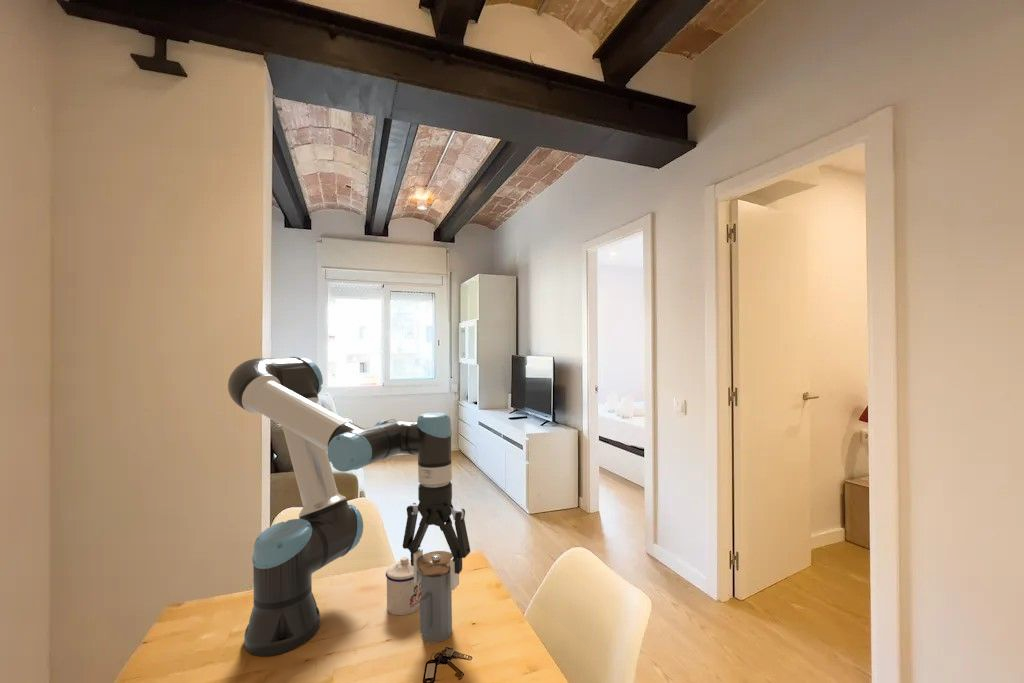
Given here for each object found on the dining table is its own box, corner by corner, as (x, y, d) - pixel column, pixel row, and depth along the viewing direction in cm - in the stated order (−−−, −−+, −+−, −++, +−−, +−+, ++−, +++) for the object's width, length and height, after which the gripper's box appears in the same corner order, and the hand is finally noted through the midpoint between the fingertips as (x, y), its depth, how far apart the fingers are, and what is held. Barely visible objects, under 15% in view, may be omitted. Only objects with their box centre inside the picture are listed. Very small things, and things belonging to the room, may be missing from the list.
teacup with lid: (416, 617, 102) (416, 568, 103) (379, 615, 103) (379, 566, 104) (431, 589, 114) (431, 545, 115) (398, 588, 115) (397, 544, 116)
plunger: (409, 628, 94) (409, 562, 95) (429, 606, 103) (429, 545, 103) (444, 636, 92) (443, 568, 92) (462, 613, 100) (461, 550, 100)
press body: (409, 646, 92) (408, 580, 93) (431, 620, 101) (430, 560, 102) (436, 653, 90) (435, 586, 90) (456, 626, 99) (456, 564, 99)
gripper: (385, 483, 98) (386, 584, 97) (471, 492, 91) (472, 601, 90) (403, 474, 105) (404, 568, 104) (485, 481, 98) (486, 582, 97)
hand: (436, 583), depth 97 cm, fingers closed on plunger, 9 cm apart
